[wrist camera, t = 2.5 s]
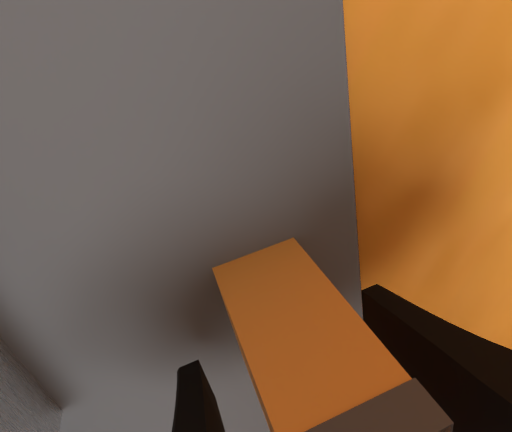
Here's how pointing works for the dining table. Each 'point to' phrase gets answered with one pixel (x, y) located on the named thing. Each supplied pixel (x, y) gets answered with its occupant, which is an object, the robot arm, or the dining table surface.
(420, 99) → the dining table surface
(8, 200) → the site mat
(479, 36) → the dining table surface
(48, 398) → the scaffold node
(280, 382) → the orange grey two-tone block
